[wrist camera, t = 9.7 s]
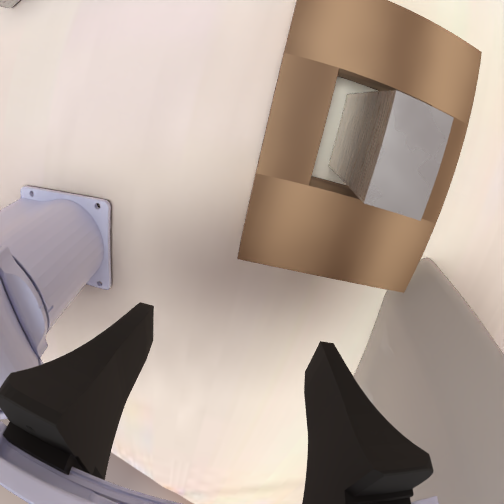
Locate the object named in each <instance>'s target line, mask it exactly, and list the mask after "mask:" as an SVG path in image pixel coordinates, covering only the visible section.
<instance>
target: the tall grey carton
mask: <svg viewBox="0 0 504 504" xmlns="http://www.w3.org/2000/svg"><path fill="white" fill-rule="evenodd" d="M354 379H355V380H356V382H357V383H358V385H359V386H360V388H361V389H362V390H363V392H364V393H365V395H366V396H367V397H368V399H369V400H370V401H371V402H372V404H373V405H374V406H375V407H376V408H377V410H378V411H379V412H380V413H381V414H382V415H383V416H384V417H385V419H386V420H387V421H388V422H389V423H390V424H392V425H393V426H394V427H395V428H396V429H397V430H398V431H399V432H400V433H401V434H402V435H404V436H405V437H406V438H407V439H409V440H410V441H411V442H412V443H414V444H415V445H417V446H418V447H420V448H421V449H423V450H424V451H426V452H427V453H429V455H430V459H431V462H432V466H433V470H434V471H433V474H432V475H431V476H430V477H429V478H428V479H427V480H425V481H424V482H422V483H421V484H419V485H418V486H416V487H415V488H413V493H414V495H413V496H412V497H410V500H411V502H414V501H417V500H421V499H425V498H429V497H433V496H437V497H438V502H439V504H504V354H503V353H502V351H501V350H500V348H499V347H498V345H497V344H496V342H495V341H494V339H493V338H492V337H491V335H490V334H489V332H488V331H487V329H486V328H485V327H484V325H483V324H482V322H481V321H480V320H479V318H478V317H477V316H476V314H475V313H474V312H473V310H472V309H471V308H470V306H469V305H468V304H467V302H466V301H465V300H464V298H463V297H462V296H461V295H460V293H459V292H458V291H457V290H456V288H455V287H454V286H453V285H452V283H451V282H450V281H449V280H448V278H447V277H446V276H445V275H444V274H443V272H442V271H441V270H440V269H439V268H438V267H437V265H436V264H435V263H434V262H433V261H432V260H431V259H429V258H424V259H422V260H420V261H419V263H418V266H417V268H416V270H415V272H414V274H413V276H412V278H411V280H410V282H409V284H408V286H407V288H406V290H405V292H404V293H402V292H397V291H392V290H388V291H387V292H386V294H385V296H384V299H383V302H382V305H381V308H380V311H379V314H378V317H377V320H376V322H375V325H374V328H373V330H372V333H371V336H370V338H369V341H368V343H367V346H366V349H365V351H364V354H363V356H362V358H361V361H360V363H359V366H358V368H357V370H356V373H355V375H354Z"/></svg>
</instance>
